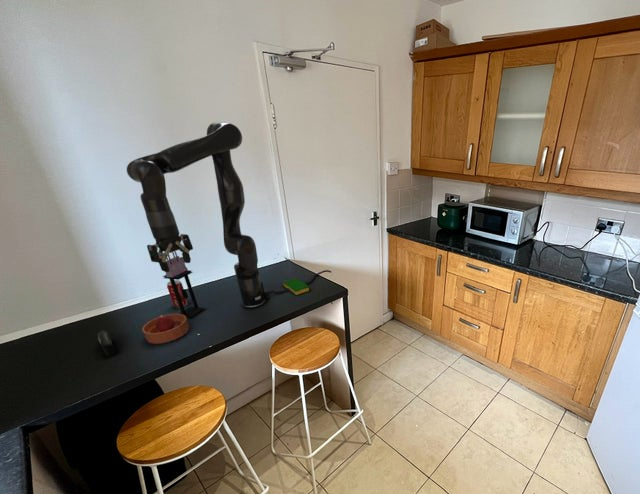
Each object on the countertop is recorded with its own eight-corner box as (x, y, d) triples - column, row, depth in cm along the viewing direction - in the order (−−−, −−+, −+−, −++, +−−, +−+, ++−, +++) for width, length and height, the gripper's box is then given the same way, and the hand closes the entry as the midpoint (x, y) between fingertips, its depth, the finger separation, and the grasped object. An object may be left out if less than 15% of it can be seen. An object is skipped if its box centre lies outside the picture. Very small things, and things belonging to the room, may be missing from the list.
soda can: (175, 309, 141) (166, 285, 135) (173, 304, 144) (164, 281, 139) (189, 305, 144) (181, 282, 139) (187, 301, 148) (179, 278, 142)
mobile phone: (112, 343, 111) (103, 326, 119) (101, 347, 109) (93, 329, 117) (118, 354, 113) (109, 337, 122) (107, 358, 111) (99, 340, 120)
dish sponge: (296, 281, 166) (295, 277, 165) (309, 290, 157) (308, 286, 156) (283, 286, 162) (282, 281, 161) (296, 295, 153) (295, 290, 152)
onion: (180, 330, 125) (174, 313, 122) (166, 338, 120) (159, 320, 117) (170, 327, 127) (163, 310, 123) (156, 335, 122) (148, 317, 118)
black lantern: (189, 320, 133) (165, 254, 120) (174, 318, 134) (149, 252, 121) (207, 307, 142) (187, 245, 129) (193, 306, 143) (172, 243, 130)
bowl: (171, 321, 132) (167, 311, 130) (198, 327, 128) (194, 316, 126) (137, 341, 120) (132, 330, 117) (166, 347, 116) (161, 336, 114)
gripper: (150, 229, 99) (167, 276, 106) (189, 218, 111) (202, 260, 118) (133, 227, 101) (150, 273, 108) (173, 217, 113) (186, 258, 120)
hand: (177, 266), depth 113 cm, fingers open, 8 cm apart
